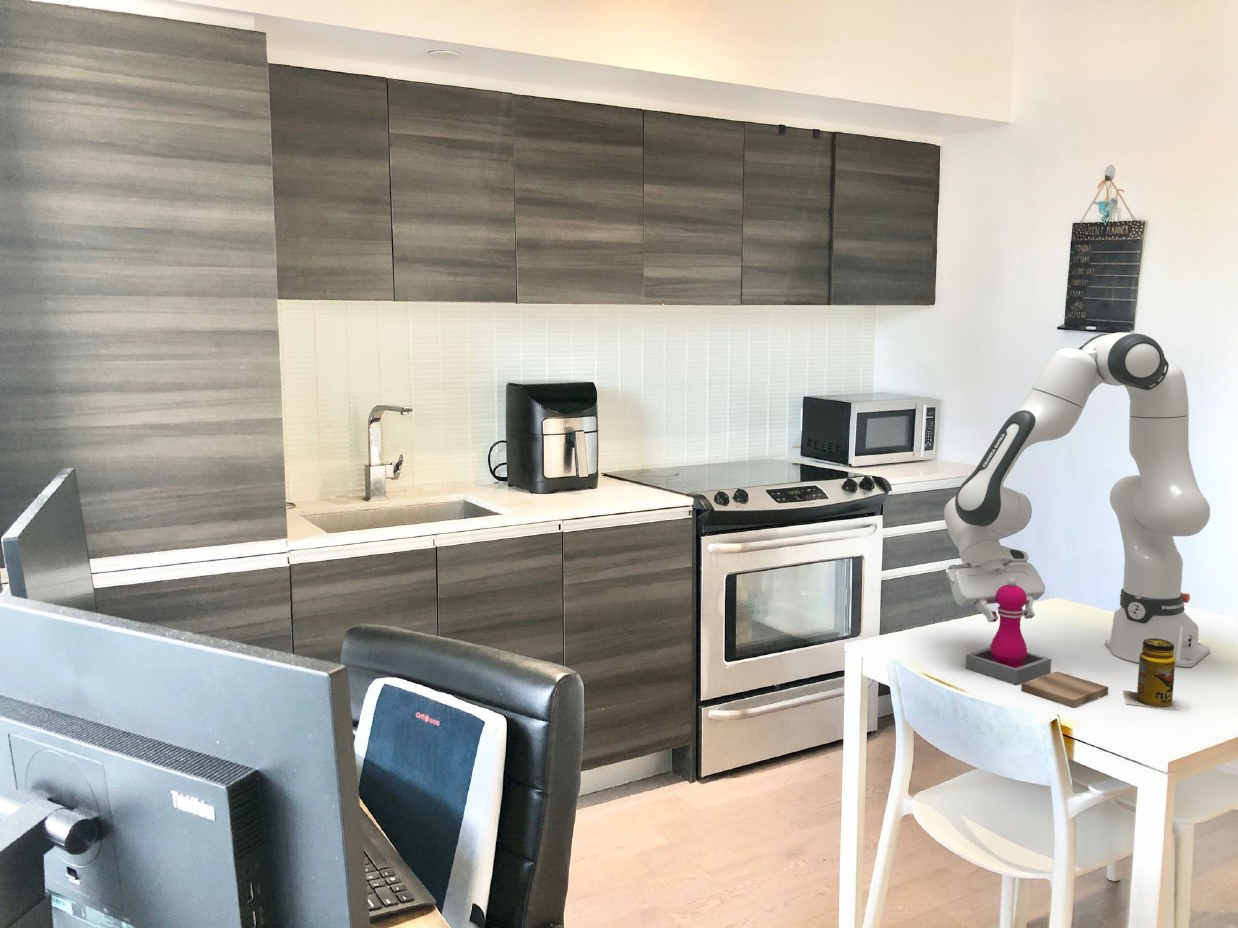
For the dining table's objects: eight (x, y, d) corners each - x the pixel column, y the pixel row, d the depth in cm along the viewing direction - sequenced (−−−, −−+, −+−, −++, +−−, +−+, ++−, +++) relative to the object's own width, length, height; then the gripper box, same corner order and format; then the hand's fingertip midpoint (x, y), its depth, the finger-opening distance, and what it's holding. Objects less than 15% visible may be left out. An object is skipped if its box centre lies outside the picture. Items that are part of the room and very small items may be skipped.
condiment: (1176, 710, 187) (1181, 649, 186) (1126, 704, 190) (1130, 644, 189) (1171, 697, 194) (1175, 637, 192) (1122, 691, 197) (1126, 633, 195)
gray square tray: (999, 657, 218) (1000, 644, 217) (1050, 672, 208) (1051, 658, 207) (965, 668, 211) (966, 654, 210) (1016, 684, 201) (1016, 670, 201)
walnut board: (1056, 678, 205) (1056, 671, 204) (1107, 694, 196) (1108, 686, 195) (1021, 690, 198) (1021, 683, 198) (1073, 707, 189) (1073, 700, 189)
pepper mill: (1029, 677, 205) (1034, 583, 202) (992, 675, 206) (996, 581, 204) (1022, 665, 212) (1027, 574, 209) (986, 663, 213) (990, 573, 211)
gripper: (949, 557, 210) (975, 615, 202) (1033, 551, 215) (1061, 607, 207) (936, 573, 215) (961, 630, 207) (1019, 566, 220) (1046, 622, 212)
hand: (1012, 619), depth 207 cm, fingers open, 7 cm apart
